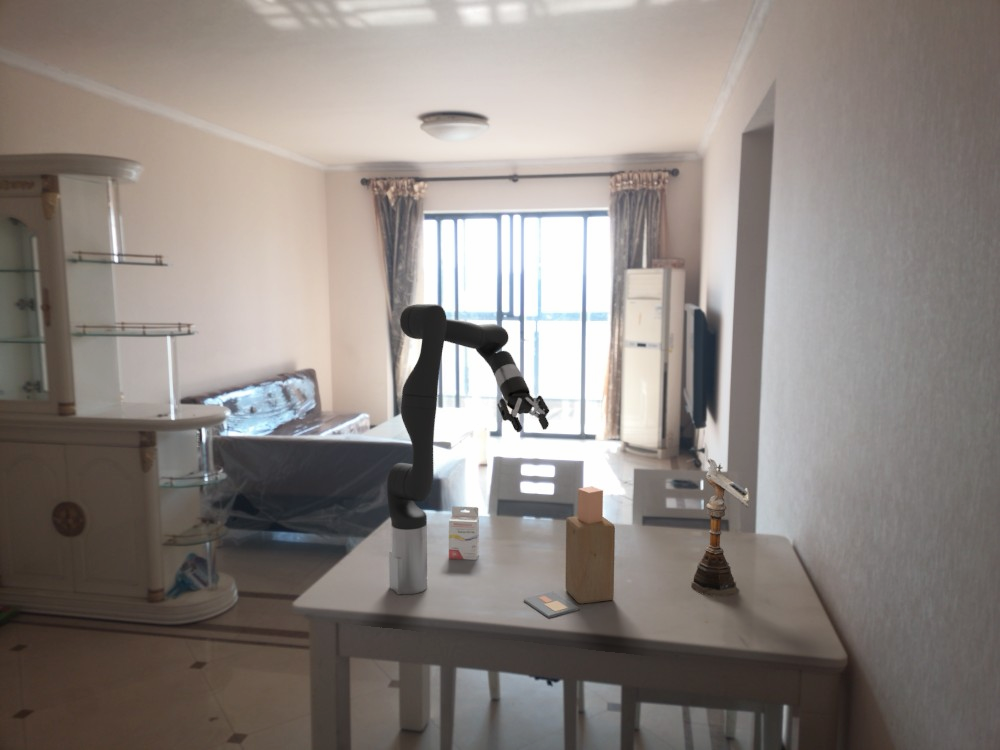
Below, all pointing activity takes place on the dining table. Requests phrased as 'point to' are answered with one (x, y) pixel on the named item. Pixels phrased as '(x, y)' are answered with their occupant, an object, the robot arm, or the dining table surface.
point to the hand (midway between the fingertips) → (533, 429)
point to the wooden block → (590, 560)
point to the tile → (551, 604)
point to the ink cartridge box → (464, 533)
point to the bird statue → (717, 538)
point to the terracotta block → (590, 505)
